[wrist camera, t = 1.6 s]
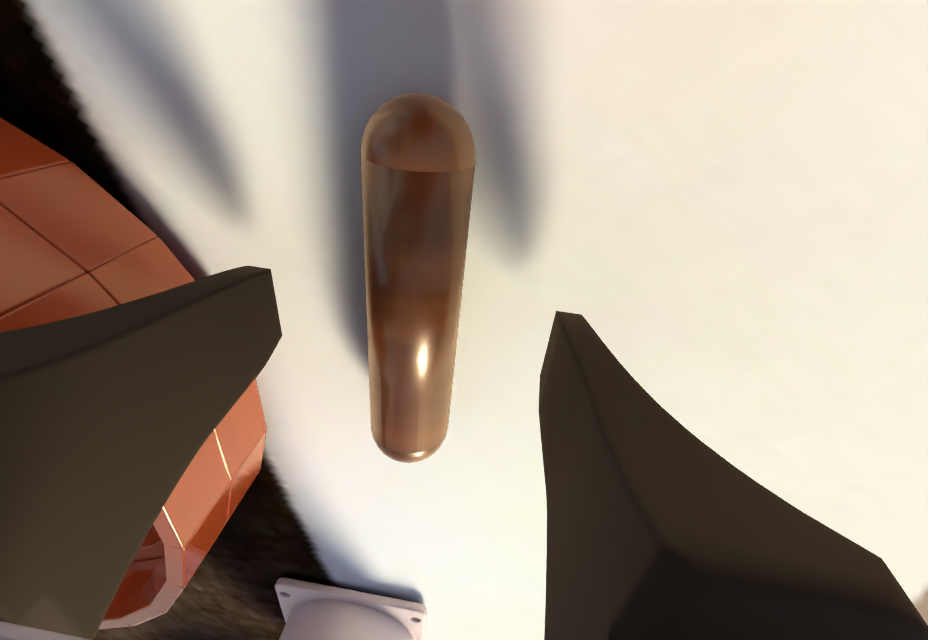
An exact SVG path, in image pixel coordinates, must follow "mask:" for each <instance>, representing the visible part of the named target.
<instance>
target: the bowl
mask: <svg viewBox="0 0 928 640" xmlns="http://www.w3.org/2000/svg"><path fill="white" fill-rule="evenodd" d="M193 281H195V280H194V279H193V277H192V276H191V275H190V274H189V272H188V271H187V270H186V269H185V268H184V266H183V265H182V264H181V263H180V262H179V260H178V259H177V258H176V257H175V256H174V254H173V253H172V252H171V251H170V250H169V248H168V247H167V246H166V245H165V243H164V242H163V241H162V240H161V239H160V238H159V237H157V235H156V234H155V233H154V232H153V231H152V230H151V229H149V228H148V227H147V226H146V225H145V224H144V223H143V222H141V221H140V220H139V219H138V218H137V217H136V216H134V215H133V214H132V213H131V212H130V211H129V210H128V209H126V208H125V207H124V206H123V205H122V204H121V203H119V202H118V201H117V200H116V199H115V198H114V197H113V196H111V195H110V194H109V193H108V192H107V191H106V190H104V189H103V188H102V187H101V186H100V185H99V184H98V183H96V182H95V181H94V180H93V179H92V178H91V177H89V176H88V175H87V174H86V173H85V172H84V171H82V170H81V169H80V168H79V167H78V166H77V165H76V164H74V163H73V162H70V161H69V159H67V158H66V157H64V156H62V155H61V154H59V153H58V152H56V151H54V150H53V149H51V148H49V147H48V146H46V145H45V144H43V143H41V142H40V141H38V140H37V139H35V138H33V137H32V136H30V135H28V134H27V133H25V132H24V131H22V130H20V129H19V128H17V127H16V126H14V125H12V124H11V123H9V122H7V121H6V120H4V119H3V118H1V117H0V332H5V331H10V330H15V329H21V328H26V327H32V326H37V325H42V324H46V323H51V322H55V321H59V320H63V319H68V318H72V317H76V316H80V315H84V314H88V313H92V312H96V311H100V310H103V309H107V308H110V307H114V306H117V305H120V304H124V303H127V302H130V301H133V300H137V299H140V298H143V297H147V296H150V295H153V294H157V293H160V292H163V291H166V290H169V289H172V288H175V287H178V286H181V285H184V284H187V283H190V282H193ZM266 428H267V427H266V422H265V418H264V414H263V409H262V405H261V401H260V396H259V392H258V388H257V383H256V379H254V381H253V382H252V383H251V384H250V386H249V387H248V388H247V389H246V391H245V392H244V393H243V394H242V396H241V397H240V398H239V399H238V401H237V402H236V403H235V404H234V406H233V407H232V408H231V409H230V411H229V412H228V413H227V414H226V416H225V417H224V418H223V419H222V421H221V422H220V423H219V424H218V425H217V427H216V428H215V429H214V430H213V432H212V433H211V434H210V436H209V437H208V438H207V440H206V441H205V442H204V444H203V445H202V446H201V448H200V449H199V451H198V452H197V454H196V455H195V457H194V458H193V460H192V461H191V463H190V465H189V466H188V468H187V469H186V471H185V472H184V474H183V475H182V477H181V479H180V480H179V482H178V483H177V485H176V486H175V488H174V490H173V491H172V493H171V495H170V496H169V498H168V500H167V502H166V503H165V505H164V507H163V508H162V510H161V512H160V513H159V515H158V517H157V518H156V520H155V522H154V523H153V525H152V527H151V529H150V530H149V532H148V534H147V536H146V538H145V540H144V541H143V543H142V545H141V547H140V549H139V551H138V552H137V554H136V556H135V558H134V560H133V562H132V563H131V565H130V567H129V569H128V571H127V573H126V574H125V576H124V578H123V580H122V582H121V584H120V586H119V588H118V590H117V592H116V594H115V596H114V598H113V600H112V602H111V604H110V606H109V608H108V610H107V612H106V614H105V616H104V619H103V621H102V623H101V625H100V627H99V629H107V628H119V627H130V626H135V625H138V624H140V623H143V622H145V621H148V620H150V619H152V618H155V617H157V616H160V615H162V614H165V613H166V612H167V611H168V610H169V609H170V607H171V606H172V605H173V603H174V602H175V601H176V599H177V598H178V597H179V595H180V594H181V593H182V591H183V590H184V588H185V587H186V585H187V584H188V582H189V581H190V579H191V578H192V576H193V575H194V573H195V571H196V570H197V568H198V567H199V565H200V564H201V562H202V560H203V559H204V557H205V556H206V554H207V553H208V551H209V550H210V548H211V546H212V545H213V543H214V542H215V540H216V539H217V537H218V535H219V534H220V532H221V531H222V529H223V528H224V526H225V524H226V523H227V521H228V520H229V518H230V517H231V515H232V513H233V512H234V510H235V509H236V507H237V506H238V504H239V503H240V501H241V499H242V498H243V496H244V495H245V493H246V492H247V490H248V488H249V487H250V485H251V484H252V482H253V481H254V479H255V478H256V476H257V474H258V473H259V471H260V469H261V463H262V456H263V450H264V443H265V436H266Z"/></svg>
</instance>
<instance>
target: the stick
mask: <svg viewBox="0 0 928 640" xmlns="http://www.w3.org/2000/svg"><path fill="white" fill-rule="evenodd" d="M474 170H475V145H474V140H473V136H472V134H471V131H470V128H469V126H468V125H467V123H466V121H465V120H464V118H463V117H462V115H461V114H460V113H459V112H458V111H457V110H456V109H455V108H454V107H453V106H452V105H450V104H449V103H447V102H446V101H445V100H443V99H441V98H438V97H436V96H434V95H431V94H426V93H406V94H402V95H398V96H396V97H394V98H392V99H390V100H388V101H386V102H385V103H384V104H383V105H381V106H380V107H379V108H378V109H377V110H376V111H375V112H374V114H373V115H372V116H371V117H370V119H369V121H368V123H367V125H366V127H365V130H364V134H363V138H362V142H361V175H362V202H363V228H364V254H365V281H366V307H367V334H368V360H369V387H370V413H371V430H372V435H373V439H374V440H375V442H376V444H377V446H378V448H379V449H380V450H381V451H382V452H383V453H384V454H385V455H387V456H388V457H389V458H391V459H393V460H396V461H399V462H406V463H410V462H418V461H421V460H424V459H426V458H428V457H429V456H431V455H432V454H433V453H435V452H436V451H437V450H438V449H439V447H440V446H441V444H442V443H443V441H444V439H445V437H446V434H447V430H448V422H449V413H450V403H451V393H452V384H453V374H454V364H455V355H456V345H457V335H458V326H459V316H460V306H461V296H462V287H463V277H464V267H465V258H466V248H467V238H468V229H469V219H470V209H471V200H472V190H473V180H474Z"/></svg>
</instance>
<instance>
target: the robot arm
mask: <svg viewBox="0 0 928 640" xmlns="http://www.w3.org/2000/svg"><path fill="white" fill-rule="evenodd" d="M281 336H282V332H281V327H280V321H279V315H278V309H277V303H276V298H275V292H274V286H273V280H272V275H271V269H266V268H259V267H253V266H244V267H239V268H235V269H231V270H227V271H224V272H221V273H217V274H214V275H211V276H208V277H205V278H202V279H199V280H196V281H193V282H190V283H187V284H184V285H181V286H178V287H175V288H172V289H169V290H166V291H163V292H160V293H157V294H153V295H150V296H147V297H143V298H140V299H137V300H133V301H130V302H127V303H124V304H120V305H117V306H114V307H110V308H107V309H103V310H100V311H96V312H92V313H88V314H84V315H80V316H76V317H72V318H68V319H63V320H59V321H55V322H51V323H46V324H42V325H37V326H32V327H26V328H21V329H15V330H10V331H5V332H0V640H93V639H94V637H95V635H96V633H97V631H98V629H99V627H100V625H101V623H102V621H103V619H104V616H105V614H106V612H107V610H108V608H109V606H110V604H111V602H112V600H113V598H114V596H115V594H116V592H117V590H118V588H119V586H120V584H121V582H122V580H123V578H124V576H125V574H126V573H127V571H128V569H129V567H130V565H131V563H132V562H133V560H134V558H135V556H136V554H137V552H138V551H139V549H140V547H141V545H142V543H143V541H144V540H145V538H146V536H147V534H148V532H149V530H150V529H151V527H152V525H153V523H154V522H155V520H156V518H157V517H158V515H159V513H160V512H161V510H162V508H163V507H164V505H165V503H166V502H167V500H168V498H169V496H170V495H171V493H172V491H173V490H174V488H175V486H176V485H177V483H178V482H179V480H180V479H181V477H182V475H183V474H184V472H185V471H186V469H187V468H188V466H189V465H190V463H191V461H192V460H193V458H194V457H195V455H196V454H197V452H198V451H199V449H200V448H201V446H202V445H203V444H204V442H205V441H206V440H207V438H208V437H209V436H210V434H211V433H212V432H213V430H214V429H215V428H216V427H217V425H218V424H219V423H220V422H221V421H222V419H223V418H224V417H225V416H226V414H227V413H228V412H229V411H230V409H231V408H232V407H233V406H234V404H235V403H236V402H237V401H238V399H239V398H240V397H241V396H242V394H243V393H244V392H245V391H246V389H247V388H248V387H249V386H250V384H251V383H252V382H253V381H254V379H255V378H256V377H257V375H258V374H259V373H260V372H261V370H262V369H263V368H264V366H265V365H266V363H267V361H268V360H269V358H270V356H271V355H272V353H273V351H274V349H275V348H276V346H277V344H278V342H279V340H280V338H281ZM539 419H540V430H541V441H542V452H543V462H544V473H545V484H546V497H547V569H546V610H545V640H928V625H927V624H926V623H925V621H924V620H923V618H922V617H921V615H920V614H919V612H918V611H917V609H916V608H915V606H914V605H913V603H912V602H911V601H910V599H909V598H908V596H907V595H906V593H905V592H904V590H903V589H902V587H901V586H900V585H899V583H898V582H897V580H896V579H895V577H894V576H893V574H892V573H891V571H890V570H889V569H888V567H887V566H886V564H885V563H884V561H883V560H882V559H881V558H880V557H878V556H876V555H875V554H873V553H871V552H869V551H868V550H866V549H864V548H863V547H861V546H859V545H858V544H856V543H854V542H852V541H851V540H849V539H847V538H846V537H844V536H842V535H840V534H839V533H837V532H835V531H834V530H832V529H830V528H829V527H827V526H825V525H823V524H822V523H820V522H818V521H817V520H815V519H813V518H811V517H810V516H808V515H806V514H805V513H803V512H801V511H800V510H798V509H797V508H795V507H793V506H792V505H790V504H789V503H787V502H786V501H784V500H783V499H781V498H780V497H778V496H777V495H775V494H774V493H772V492H771V491H769V490H768V489H766V488H765V487H763V486H762V485H760V484H759V483H757V482H756V481H754V480H753V479H751V478H750V477H748V476H747V475H746V474H744V473H743V472H741V471H740V470H738V469H737V468H736V467H734V466H733V465H731V464H730V463H729V462H727V461H726V460H725V459H724V458H722V457H721V456H720V455H718V454H717V453H716V452H714V451H713V450H712V449H710V448H709V447H708V446H707V445H705V444H704V443H703V442H701V441H700V440H699V439H698V438H696V437H695V436H694V435H693V434H692V433H690V432H689V431H688V430H687V429H686V428H684V427H683V426H682V425H681V424H680V423H679V422H678V421H677V420H675V419H674V418H673V417H672V416H671V415H670V414H669V413H668V412H667V411H665V410H664V409H663V408H662V407H661V406H660V405H659V404H658V403H657V402H656V401H655V400H654V399H653V398H652V397H651V396H650V395H649V394H648V393H647V392H646V391H645V390H644V389H643V388H642V387H641V386H640V385H639V384H638V383H637V382H636V381H635V380H634V378H633V377H632V376H631V375H630V374H629V373H628V372H627V371H626V370H625V368H624V367H623V366H622V365H621V364H620V363H619V361H618V360H617V359H616V358H615V357H614V355H613V354H612V353H611V352H610V350H609V349H608V348H607V347H606V345H605V344H604V343H603V342H602V340H601V339H600V338H599V336H598V335H597V334H596V333H595V331H594V330H593V329H592V327H591V326H590V325H589V323H588V322H587V321H586V320H585V318H584V317H583V316H582V315H580V314H573V313H566V312H559V311H556V314H555V318H554V322H553V326H552V330H551V334H550V338H549V342H548V346H547V350H546V354H545V358H544V362H543V366H542V370H541V374H540V391H539ZM275 590H276V593H277V596H278V600H279V603H280V606H281V609H282V613H283V616H284V619H285V623H286V625H285V627H284V629H283V632H282V634H281V636H280V639H279V640H424V633H425V623H426V613H427V609H426V607H425V606H424V605H423V604H421V603H417V602H412V601H406V600H401V599H396V598H391V597H385V596H380V595H375V594H370V593H364V592H359V591H354V590H349V589H343V588H338V587H333V586H328V585H322V584H317V583H312V582H306V581H301V580H296V579H291V578H285V577H282V578H279V579H278V580H277V582H276V584H275Z"/></svg>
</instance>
